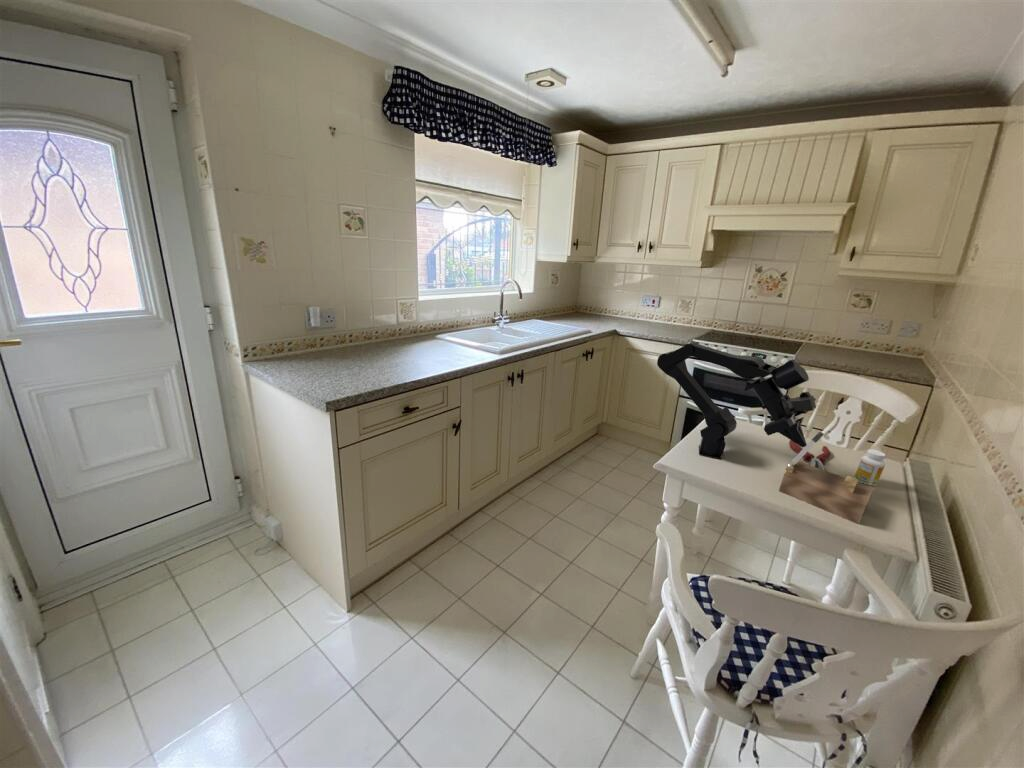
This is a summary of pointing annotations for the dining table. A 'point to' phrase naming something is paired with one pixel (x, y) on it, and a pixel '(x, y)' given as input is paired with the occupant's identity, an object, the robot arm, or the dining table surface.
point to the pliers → (809, 457)
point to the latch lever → (805, 449)
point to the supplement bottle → (870, 467)
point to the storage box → (827, 490)
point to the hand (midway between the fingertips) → (804, 446)
